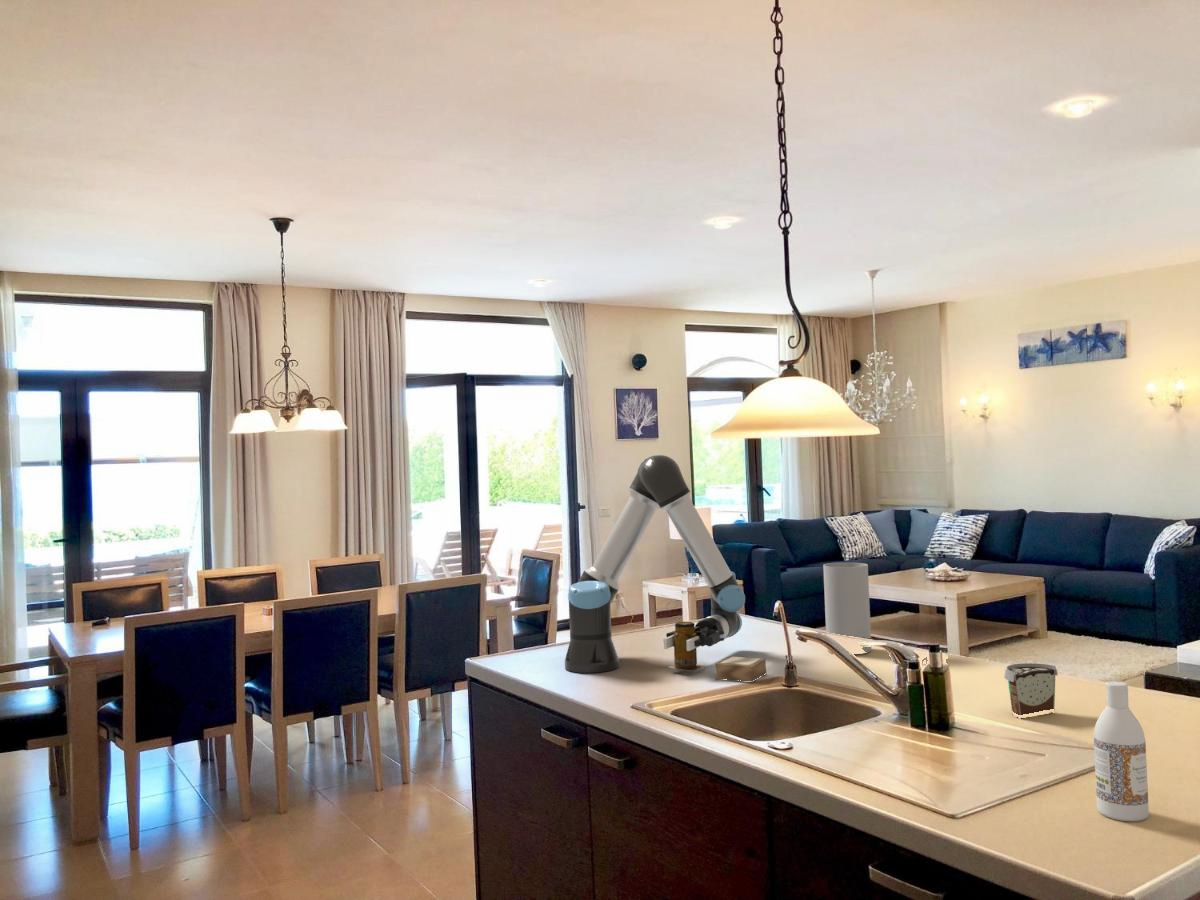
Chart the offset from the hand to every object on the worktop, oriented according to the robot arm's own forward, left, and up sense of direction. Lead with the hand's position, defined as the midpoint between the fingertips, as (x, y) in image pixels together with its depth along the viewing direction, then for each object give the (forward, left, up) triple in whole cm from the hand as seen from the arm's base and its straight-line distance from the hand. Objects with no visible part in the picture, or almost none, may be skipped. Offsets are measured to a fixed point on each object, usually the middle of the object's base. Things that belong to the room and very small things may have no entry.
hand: (676, 644), depth 247 cm
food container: (+85, -5, -9) cm, 85 cm away
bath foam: (+104, -60, -9) cm, 120 cm away
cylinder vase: (+33, +46, -9) cm, 57 cm away
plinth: (+16, +5, -8) cm, 19 cm away
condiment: (+1, +5, -7) cm, 9 cm away
